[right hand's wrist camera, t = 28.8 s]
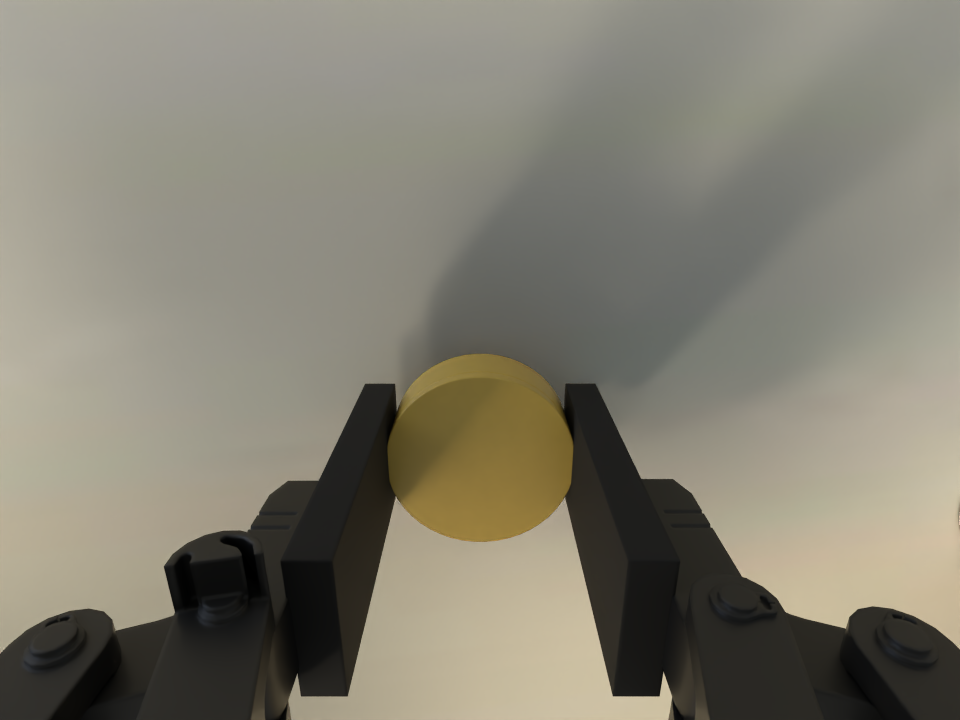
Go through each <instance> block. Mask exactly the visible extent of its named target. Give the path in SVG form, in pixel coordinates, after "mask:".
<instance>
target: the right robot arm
mask: <svg viewBox="0 0 960 720" xmlns="http://www.w3.org/2000/svg"><path fill="white" fill-rule="evenodd" d="M396 413H397V409H396V391H395V384H365V385H364V388H363V390H362V392H361V394H360V396H359V398H358V400H357V402H356V404H355V406H354V408H353V410H352V413H351V415H350V417H349V419H348V421H347V423H346V425H345V427H344V429H343V431H342V433H341V435H340V438H339V440H338V442H337V444H336V446H335V448H334V450H333V452H332V454H331V456H330V458H329V460H328V462H327V465H326V467H325V469H324V471H323V473H322V475H321V477H320V479H319V481H287V482H286V483H285V484H283V485H282V486H281V487H280V488H278V489H277V490H276V491H274V492H273V493H272V494H270V495H269V497H268V499H267V500H266V502H265V504H264V505H263V507H262V509H261V510H260V512H259V515H257V517H256V518H255V520H254V522H253V523H252V525H251V530H248V532H243V531H221V532H216V533H212V534H208V535H204V536H202V537H200V538H198V539H196V540H193V541H191V542H189V543H187V544H186V545H184V546H183V547H182V548H180V549H179V550H178V551H176V552H175V553H174V554H173V555H172V556H171V557H170V559H169V560H168V562H167V563H166V564H165V566H164V569H165V573H166V577H167V581H168V586H169V590H170V594H171V598H172V602H173V606H174V610H175V614H174V616H171V617H168V618H165V619H162V620H158V621H155V622H151V623H146V624H142V625H138V626H134V627H130V628H126V629H121V630H117V631H115V628H114V624H113V621H112V619H111V618H110V617H109V616H108V615H107V614H106V613H105V612H103V611H98V610H93V609H82V610H74V611H68V612H65V613H63V614H60V615H57V616H54V617H51V618H48V619H46V620H44V621H43V622H41V623H39V624H37V625H35V626H33V627H32V628H30V629H28V630H26V631H25V632H24V633H23V634H22V635H20V636H19V637H18V638H17V639H16V640H14V641H13V642H12V643H11V644H9V645H8V646H7V647H6V648H5V650H4V651H3V652H2V653H1V654H0V720H291V716H290V708H289V702H288V699H289V696H290V693H291V690H292V687H293V685H294V682H295V679H296V676H297V673H298V679H299V686H300V692H301V696H348V693H349V689H350V684H351V680H352V676H353V672H354V668H355V664H356V659H357V655H358V651H359V647H360V643H361V639H362V634H363V630H364V626H365V622H366V618H367V614H368V609H369V605H370V601H371V597H372V593H373V588H374V584H375V580H376V576H377V572H378V568H379V563H380V559H381V555H382V551H383V547H384V543H385V538H386V534H387V530H388V526H389V522H390V518H391V513H392V509H393V505H394V501H395V497H396V495H395V493H394V491H393V489H392V487H391V484H390V480H389V466H388V450H387V444H388V440H389V436H390V432H391V429H392V426H393V423H394V420H395V416H396ZM564 413H565V416H566V419H567V422H568V425H569V429H570V432H571V435H572V439H573V461H572V476H571V485H570V487H569V490H568V492H567V494H566V495H565V498H566V502H567V507H568V511H569V515H570V519H571V523H572V527H573V532H574V536H575V540H576V544H577V548H578V552H579V557H580V561H581V565H582V569H583V573H584V577H585V582H586V586H587V590H588V594H589V598H590V602H591V607H592V611H593V615H594V619H595V623H596V627H597V632H598V636H599V640H600V644H601V648H602V652H603V657H604V661H605V665H606V669H607V673H608V677H609V682H610V686H611V690H612V694H613V696H660V690H661V684H662V677H663V671H664V674H665V677H666V680H667V683H668V685H669V688H670V691H671V694H672V702H671V708H670V714H669V720H960V649H959V648H958V647H957V646H956V645H955V644H954V643H953V642H952V641H950V640H949V639H948V638H947V637H945V636H944V635H943V634H942V633H941V632H939V631H938V630H937V629H936V628H934V627H932V626H931V625H929V624H927V623H925V622H923V621H921V620H920V619H918V618H916V617H914V616H912V615H909V614H906V613H903V612H900V611H897V610H894V609H889V608H881V607H867V608H862V609H858V610H857V611H856V612H855V613H853V614H852V615H851V616H850V617H849V621H848V624H847V627H846V629H845V628H840V627H836V626H832V625H828V624H824V623H820V622H815V621H811V620H807V619H803V618H800V617H797V616H794V615H791V614H788V613H786V612H785V611H784V609H783V608H782V606H781V605H780V603H779V601H778V600H777V598H776V597H774V596H773V595H772V594H771V593H770V592H769V591H767V590H766V589H765V588H764V587H762V586H760V585H759V584H757V583H755V582H753V581H751V580H749V579H747V578H744V577H742V576H741V574H740V573H739V571H738V569H737V568H736V566H735V564H734V563H733V561H732V560H731V558H730V556H729V555H728V553H727V551H726V550H725V548H724V546H723V545H722V543H721V541H720V540H719V538H718V536H717V535H716V533H715V531H714V530H713V528H710V523H709V522H708V520H707V518H706V517H705V515H704V514H702V510H701V508H700V507H699V505H698V503H697V502H696V500H695V498H694V497H693V495H692V494H691V493H690V492H689V491H688V490H686V489H685V488H684V487H682V486H681V485H680V484H678V483H677V482H676V481H675V480H673V479H641V478H640V476H639V473H638V471H637V469H636V467H635V465H634V463H633V461H632V459H631V457H630V455H629V453H628V451H627V449H626V446H625V444H624V442H623V440H622V438H621V436H620V434H619V432H618V430H617V428H616V426H615V424H614V421H613V419H612V417H611V415H610V413H609V411H608V409H607V407H606V405H605V403H604V401H603V399H602V396H601V394H600V392H599V390H598V388H597V386H596V384H566V386H565V403H564Z"/></svg>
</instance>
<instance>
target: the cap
mask: <svg viewBox="0 0 960 720" xmlns="http://www.w3.org/2000/svg"><path fill="white" fill-rule="evenodd" d="M387 450H388V466H389V480H390V484H391V487H392V489H393V491H394V493H395V495H396V497H397V499H398V500H399V502H400V503H401V504H402V506H403V507H404V508H405V509H406V510H407V511H408V513H409V514H410V515H411V516H412V517H414V518H415V519H416V520H417V521H419V522H420V523H421V524H423V525H424V526H426V527H428V528H429V529H431V530H433V531H435V532H437V533H439V534H442V535H445V536H448V537H451V538H455V539H459V540H464V541H473V542H488V541H497V540H502V539H507V538H511V537H514V536H517V535H520V534H522V533H524V532H526V531H528V530H530V529H532V528H534V527H535V526H537V525H538V524H540V523H541V522H543V521H544V520H545V519H546V518H548V517H549V516H550V515H551V514H552V513H553V512H554V511H555V510H556V509H557V507H558V506H559V505H560V503H561V502H562V501H563V499H564V497H565V495H566V494H567V492H568V490H569V487H570V485H571V476H572V461H573V439H572V435H571V432H570V429H569V425H568V422H567V419H566V416H565V413H564V410H563V407H562V405H561V402H560V400H559V398H558V396H557V394H556V393H555V391H554V390H553V388H552V387H551V386H550V385H549V383H548V382H547V381H546V380H545V379H544V378H543V377H542V376H541V375H540V374H538V373H537V372H536V371H534V370H533V369H531V368H530V367H528V366H526V365H524V364H523V363H521V362H518V361H516V360H513V359H511V358H507V357H503V356H499V355H492V354H469V355H462V356H458V357H454V358H451V359H448V360H446V361H443V362H441V363H439V364H437V365H435V366H433V367H431V368H430V369H428V370H427V371H426V372H424V373H423V374H422V375H421V376H419V377H418V378H417V379H416V380H415V381H414V382H413V384H412V385H411V386H410V387H409V389H408V390H407V391H406V393H405V395H404V396H403V398H402V400H401V402H400V405H399V407H398V410H397V413H396V416H395V420H394V423H393V426H392V429H391V432H390V436H389V440H388V444H387Z"/></svg>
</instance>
